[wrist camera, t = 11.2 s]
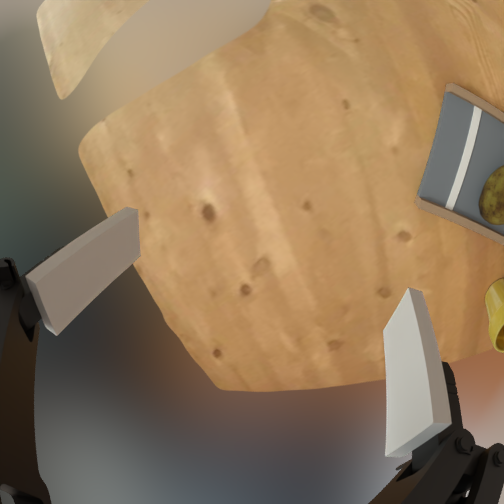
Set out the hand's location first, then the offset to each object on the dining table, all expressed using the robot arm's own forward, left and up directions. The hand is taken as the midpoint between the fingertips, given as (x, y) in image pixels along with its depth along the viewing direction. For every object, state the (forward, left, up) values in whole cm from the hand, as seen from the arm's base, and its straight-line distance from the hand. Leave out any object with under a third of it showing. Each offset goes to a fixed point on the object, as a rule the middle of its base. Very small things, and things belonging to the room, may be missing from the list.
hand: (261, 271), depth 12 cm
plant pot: (+10, +39, -27) cm, 48 cm away
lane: (-8, +27, -27) cm, 39 cm away
